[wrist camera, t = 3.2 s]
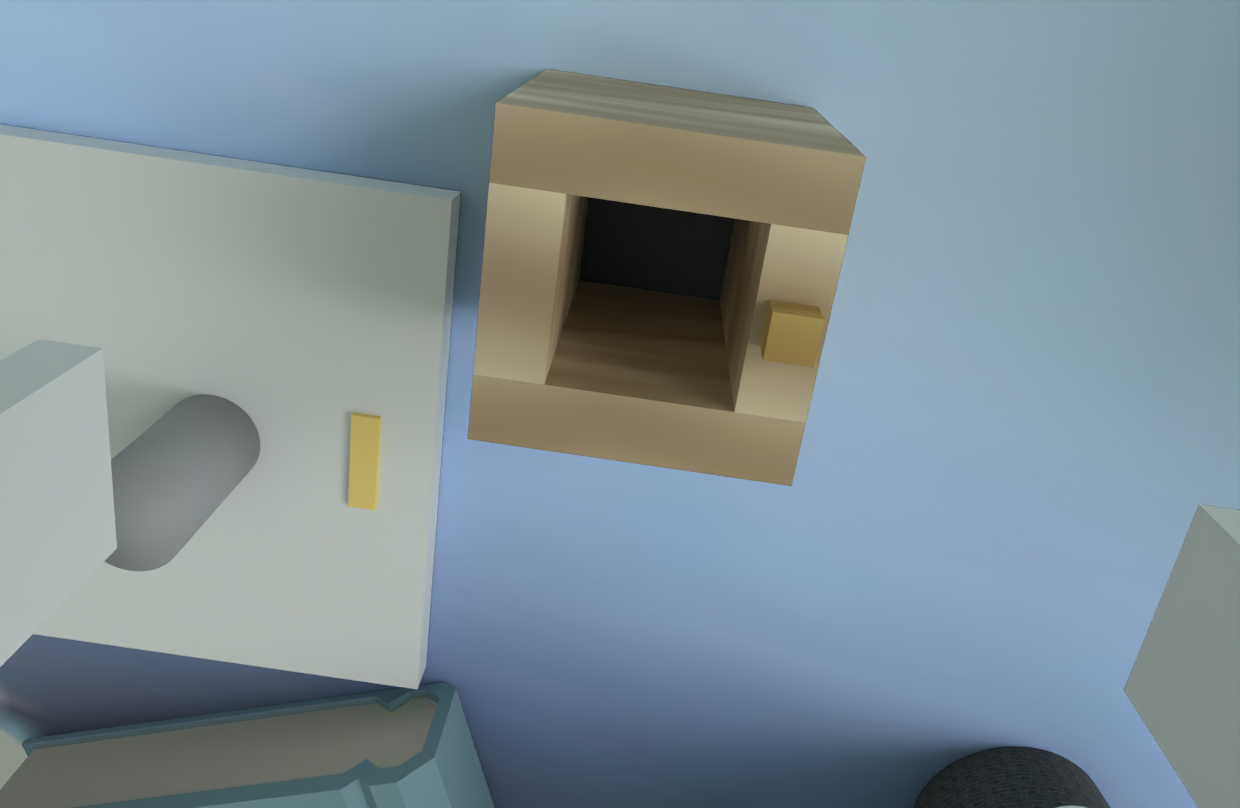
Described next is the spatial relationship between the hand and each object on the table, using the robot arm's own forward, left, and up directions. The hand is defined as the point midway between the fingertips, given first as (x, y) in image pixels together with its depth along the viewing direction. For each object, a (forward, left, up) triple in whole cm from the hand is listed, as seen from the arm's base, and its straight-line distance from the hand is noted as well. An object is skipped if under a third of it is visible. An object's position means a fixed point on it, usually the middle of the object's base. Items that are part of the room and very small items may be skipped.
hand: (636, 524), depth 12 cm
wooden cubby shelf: (0, 0, -17) cm, 17 cm away
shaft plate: (+8, -12, -17) cm, 22 cm away
